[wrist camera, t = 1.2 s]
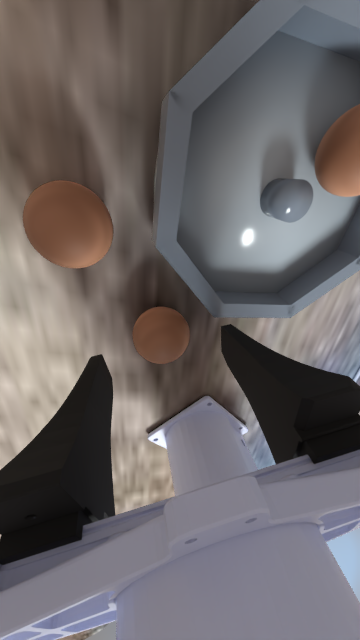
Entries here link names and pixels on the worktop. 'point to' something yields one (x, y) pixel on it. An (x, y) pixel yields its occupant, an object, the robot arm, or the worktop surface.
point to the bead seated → (340, 156)
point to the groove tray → (260, 162)
